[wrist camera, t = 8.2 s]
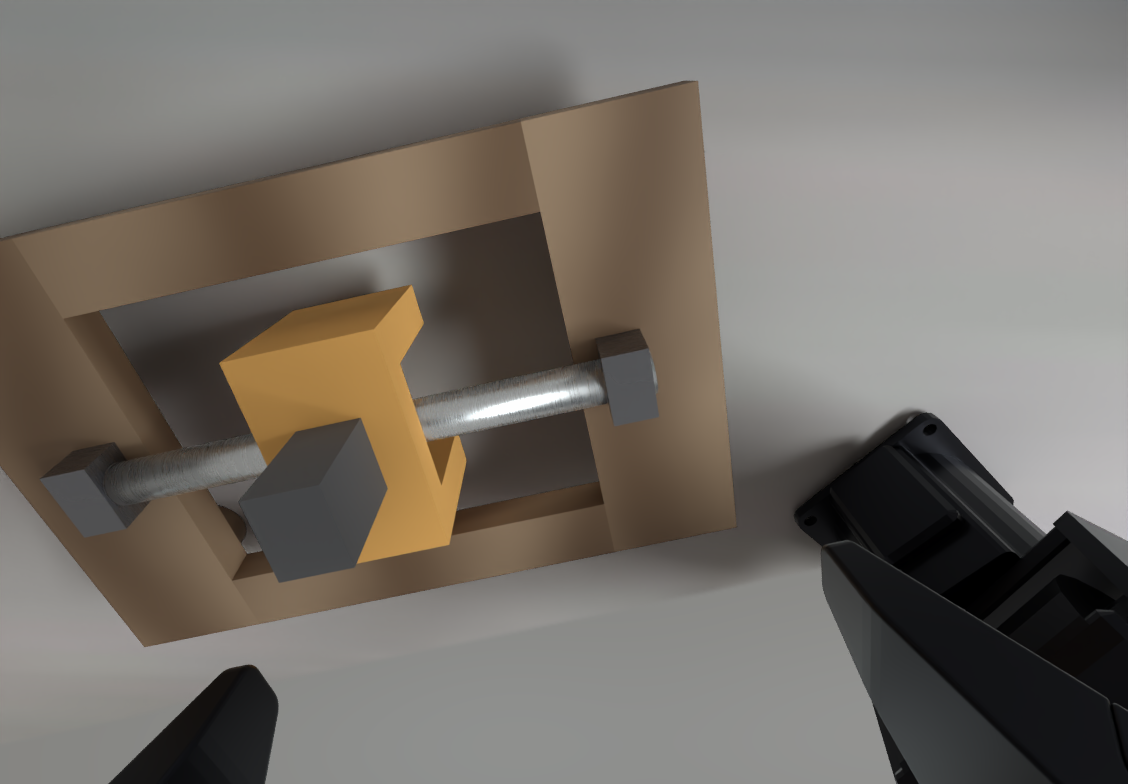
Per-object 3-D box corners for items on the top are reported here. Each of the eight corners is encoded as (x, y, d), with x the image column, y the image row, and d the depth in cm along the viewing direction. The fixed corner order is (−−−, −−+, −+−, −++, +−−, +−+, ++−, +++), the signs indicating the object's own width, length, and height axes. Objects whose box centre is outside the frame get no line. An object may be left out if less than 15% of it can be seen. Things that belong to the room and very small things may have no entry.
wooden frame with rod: (660, 80, 17) (698, 80, 13) (703, 459, 23) (736, 527, 19) (-18, 236, 17) (-151, 276, 14) (199, 563, 23) (144, 647, 20)
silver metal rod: (642, 326, 16) (652, 347, 15) (652, 391, 17) (662, 416, 16) (71, 449, 16) (35, 479, 15) (112, 505, 17) (80, 538, 16)
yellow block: (411, 284, 17) (332, 378, 11) (466, 460, 20) (431, 631, 13) (292, 310, 18) (138, 420, 11) (361, 482, 20) (270, 663, 13)
